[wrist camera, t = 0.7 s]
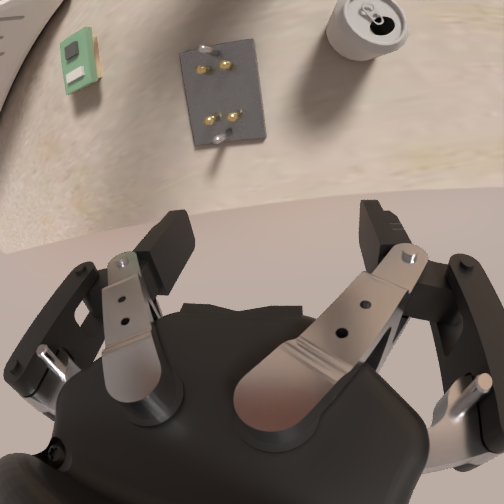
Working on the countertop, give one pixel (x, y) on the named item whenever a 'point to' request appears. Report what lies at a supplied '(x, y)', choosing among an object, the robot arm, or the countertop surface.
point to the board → (78, 61)
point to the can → (366, 28)
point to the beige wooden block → (97, 57)
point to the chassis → (223, 92)
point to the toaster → (20, 35)
